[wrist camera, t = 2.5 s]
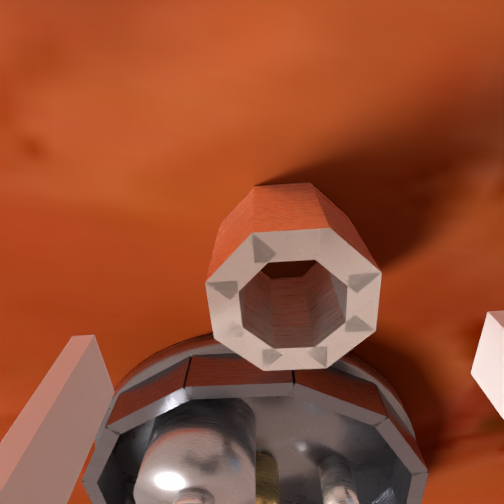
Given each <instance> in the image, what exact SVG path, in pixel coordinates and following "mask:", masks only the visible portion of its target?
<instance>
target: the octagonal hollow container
mask: <svg viewBox="0 0 504 504" xmlns="http://www.w3.org/2000/svg"><path fill="white" fill-rule="evenodd" d="M301 260H316V261H318V262H317V263H315V264H314V265H313V266H312V267H311V268H310V269H309V270H308V271H307V272H306V273H305V274H304V275H302V276H301V277H288V278H269V277H268V276H266V275H265V274H264V273H262V272H261V271H260V270H261V269H262V268H263V267H264V266H265V265H266V264H267V263H268V262H284V261H301ZM381 275H382V272H381V271H380V269H379V267H378V266H377V264H376V262H375V261H374V259H373V257H372V256H371V254H370V252H369V251H368V249H367V247H366V246H365V244H364V242H363V241H362V239H361V237H360V235H359V234H358V232H357V230H356V229H355V227H354V225H353V224H352V222H351V220H350V219H349V217H348V216H347V215H346V214H345V213H344V212H343V211H341V210H340V209H339V208H338V207H337V206H336V205H335V204H334V203H333V202H331V201H330V200H329V199H328V198H327V197H326V196H325V195H324V194H323V193H321V192H320V191H319V190H318V189H317V188H316V187H315V186H314V185H313V184H311V183H310V182H304V183H290V184H276V185H261V186H254V187H253V188H252V189H251V190H250V191H249V192H248V194H247V195H246V196H245V197H244V198H243V199H242V200H241V201H240V203H239V204H238V205H237V206H236V207H235V208H234V209H233V210H232V212H231V213H230V214H229V215H228V216H227V217H226V218H225V220H224V221H223V222H222V223H221V224H220V226H219V230H218V234H217V238H216V242H215V246H214V250H213V253H212V257H211V261H210V265H209V269H208V273H207V277H206V281H205V285H206V292H207V298H208V304H209V310H210V316H211V323H212V329H213V335H214V339H216V340H217V341H219V342H220V343H222V344H223V345H225V346H226V347H228V348H229V349H231V350H232V351H234V352H235V353H237V354H239V355H240V356H242V357H243V358H245V359H246V360H248V361H249V362H251V363H252V364H254V365H255V366H257V367H258V368H260V369H261V370H263V371H273V370H297V369H321V368H328V367H329V366H330V365H332V364H333V363H334V362H336V361H337V360H338V359H340V358H341V357H342V356H343V355H345V354H346V353H347V352H349V351H350V350H351V349H353V348H354V347H355V346H357V345H358V344H359V343H361V342H362V341H363V340H364V339H366V338H367V337H368V336H370V335H371V334H372V333H374V332H375V331H376V324H377V314H378V304H379V295H380V285H381Z"/></svg>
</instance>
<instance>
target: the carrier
mask: <svg viewBox="0 0 504 504" xmlns="http://www.w3.org/2000/svg"><path fill="white" fill-rule="evenodd" d="M114 391H115V393H114V395H113V397H112V400H111V402H110V404H109V407H108V409H107V411H106V414H105V416H104V418H103V421H102V423H101V425H100V428H99V430H98V432H97V435H96V442H95V451H94V453H93V455H92V458H91V460H90V462H89V464H88V467H87V469H86V471H85V474H84V476H83V478H82V483H83V485H84V487H85V489H86V491H87V493H88V495H89V497H90V499H91V501H92V504H421V502H422V498H423V494H424V490H425V486H426V481H427V477H428V473H429V472H428V469H427V467H426V464H425V462H424V460H423V457H422V455H421V452H420V450H419V448H418V445H417V443H416V438H415V434H414V431H413V428H412V425H411V422H410V419H409V417H408V415H407V412H406V410H405V408H404V405H403V403H402V401H401V400H400V398H399V396H398V395H397V393H396V391H395V390H394V388H393V387H392V386H391V385H390V384H389V382H388V381H387V380H386V379H385V378H384V377H383V376H382V375H381V374H380V373H379V372H377V371H376V370H375V369H374V368H373V367H372V366H371V365H369V364H367V363H366V362H364V361H363V360H361V359H360V358H358V357H357V356H355V355H353V354H351V353H349V352H347V353H346V354H345V355H343V356H342V357H341V358H340V359H338V360H337V361H336V362H334V363H333V364H332V365H330V366H329V367H328V368H321V369H297V370H273V371H263V370H261V369H260V368H258V367H257V366H255V365H254V364H252V363H251V362H249V361H248V360H246V359H245V358H243V357H242V356H240V355H239V354H237V353H235V352H234V351H232V350H231V349H229V348H228V347H226V346H225V345H223V344H222V343H220V342H219V341H217V340H216V339H214V335H213V334H210V335H205V336H200V337H195V338H192V339H189V340H186V341H183V342H180V343H177V344H174V345H172V346H170V347H168V348H166V349H163V350H161V351H159V352H157V353H155V354H153V355H152V356H150V357H149V358H147V359H146V360H144V361H143V362H141V363H140V364H138V365H137V366H136V367H135V368H134V369H133V370H132V371H130V372H129V373H128V374H127V375H126V376H125V377H124V378H123V380H122V381H121V382H120V383H119V385H118V386H117V387H116V388H115V390H114Z"/></svg>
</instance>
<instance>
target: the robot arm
mask: <svg viewBox="0 0 504 504" xmlns="http://www.w3.org/2000/svg"><path fill="white" fill-rule="evenodd" d="M471 374H472V376H473V377H474V379H475V380H476V381H477V383H478V384H479V386H480V387H481V388H482V390H483V391H484V393H485V394H486V395H487V397H488V398H489V400H490V401H491V403H492V404H493V405H494V407H495V408H496V410H497V411H498V412H499V414H500V415H501V417H502V418H503V419H504V311H490V312H488V313H487V316H486V320H485V323H484V327H483V331H482V334H481V338H480V341H479V345H478V349H477V352H476V356H475V359H474V363H473V367H472V370H471ZM114 393H115V391H114V388H113V385H112V383H111V380H110V377H109V374H108V371H107V369H106V366H105V363H104V360H103V357H102V355H101V352H100V349H99V346H98V343H97V341H96V338H95V335H82V336H72V337H71V339H70V340H69V342H68V343H67V345H66V346H65V348H64V349H63V351H62V352H61V354H60V355H59V357H58V358H57V360H56V361H55V363H54V364H53V366H52V367H51V368H50V370H49V371H48V373H47V374H46V376H45V377H44V379H43V380H42V382H41V383H40V385H39V386H38V388H37V389H36V391H35V392H34V394H33V395H32V397H31V398H30V400H29V401H28V402H27V404H26V405H25V407H24V408H23V410H22V411H21V413H20V414H19V416H18V417H17V419H16V420H15V422H14V423H13V425H12V426H11V428H10V429H9V431H8V432H7V434H6V435H5V436H4V438H3V439H2V441H1V442H0V504H67V502H68V500H69V498H70V495H71V493H72V491H73V488H74V486H75V484H76V481H77V479H78V477H79V474H80V472H81V470H82V467H83V465H84V463H85V460H86V458H87V456H88V453H89V451H90V449H91V446H92V444H93V442H94V439H95V437H96V435H97V432H98V430H99V428H100V425H101V423H102V421H103V418H104V416H105V414H106V411H107V409H108V407H109V404H110V402H111V400H112V397H113V395H114Z"/></svg>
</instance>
